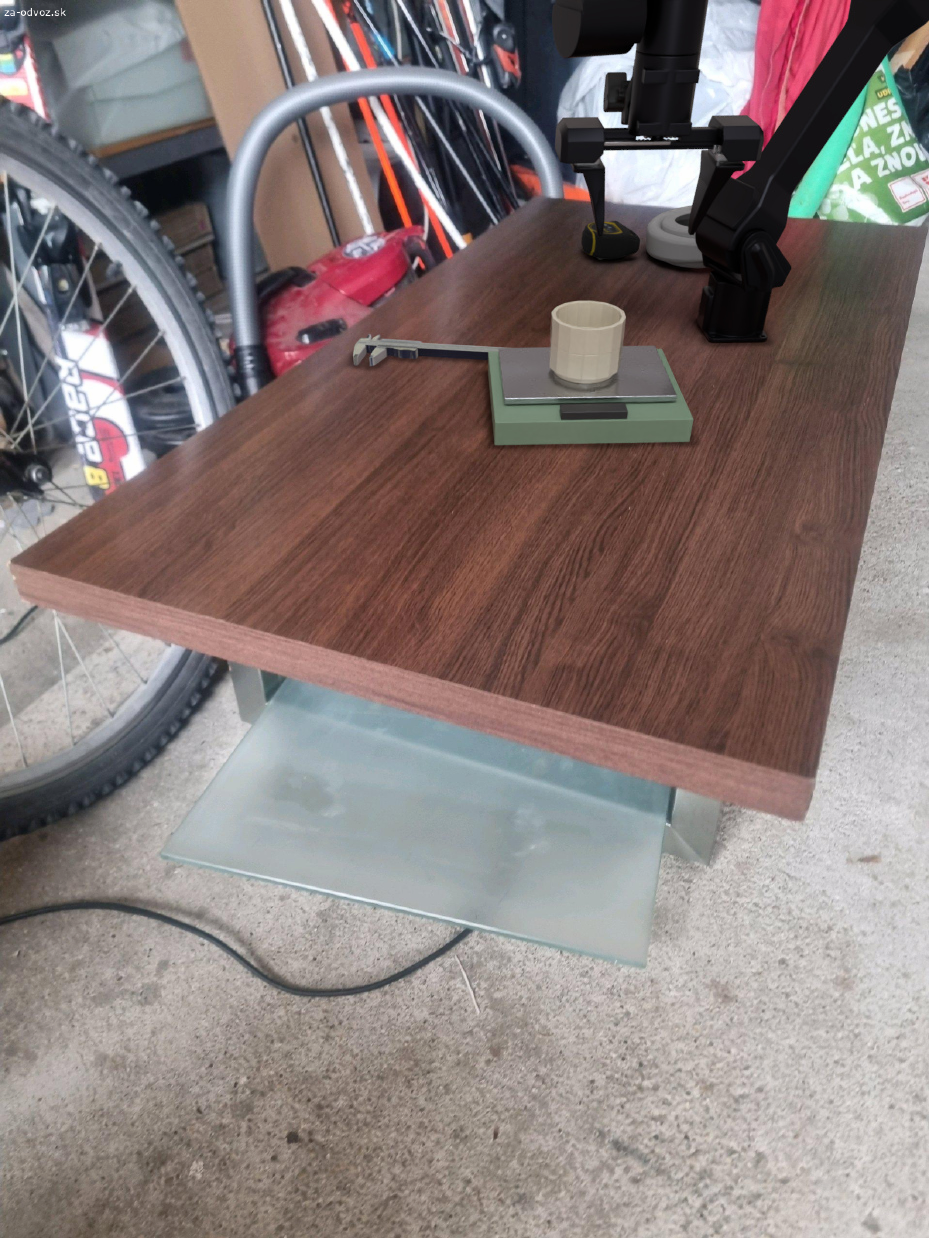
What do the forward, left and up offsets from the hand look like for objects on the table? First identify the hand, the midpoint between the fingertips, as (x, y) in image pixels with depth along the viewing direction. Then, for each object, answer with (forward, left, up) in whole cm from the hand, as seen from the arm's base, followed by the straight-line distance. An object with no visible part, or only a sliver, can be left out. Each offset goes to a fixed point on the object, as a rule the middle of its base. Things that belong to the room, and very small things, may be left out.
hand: (645, 234), depth 87 cm
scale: (+7, +13, -12) cm, 19 cm away
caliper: (+20, +4, -12) cm, 23 cm away
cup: (+7, +12, -9) cm, 16 cm away
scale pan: (+7, +12, -9) cm, 17 cm away
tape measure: (-2, -30, -12) cm, 32 cm away
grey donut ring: (-15, -28, -12) cm, 34 cm away
